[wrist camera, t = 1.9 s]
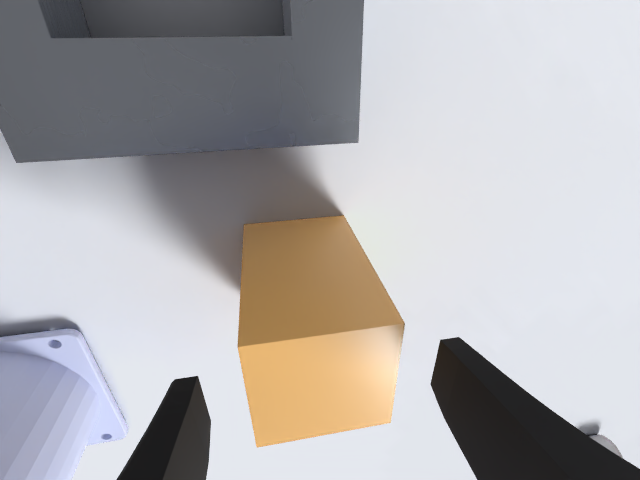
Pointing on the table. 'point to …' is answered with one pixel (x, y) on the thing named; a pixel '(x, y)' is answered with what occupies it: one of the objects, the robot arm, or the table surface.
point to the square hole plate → (176, 84)
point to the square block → (314, 331)
